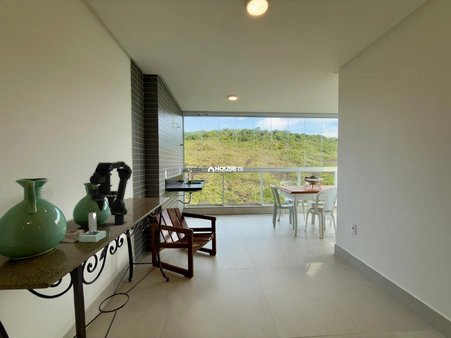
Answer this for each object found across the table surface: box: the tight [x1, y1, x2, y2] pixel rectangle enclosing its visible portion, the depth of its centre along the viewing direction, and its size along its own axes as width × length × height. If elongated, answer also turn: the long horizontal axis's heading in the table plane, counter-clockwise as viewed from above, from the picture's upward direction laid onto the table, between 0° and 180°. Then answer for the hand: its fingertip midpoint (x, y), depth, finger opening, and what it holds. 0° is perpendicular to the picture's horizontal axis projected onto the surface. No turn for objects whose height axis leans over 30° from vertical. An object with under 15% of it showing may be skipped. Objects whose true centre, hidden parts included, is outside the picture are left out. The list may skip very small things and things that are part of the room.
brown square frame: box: [61, 229, 85, 243], centre depth 118 cm, size 8×8×4 cm
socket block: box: [78, 230, 107, 243], centre depth 119 cm, size 9×9×3 cm
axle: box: [88, 211, 98, 235], centre depth 119 cm, size 4×4×14 cm
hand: (105, 209), depth 132 cm, fingers open, 9 cm apart
